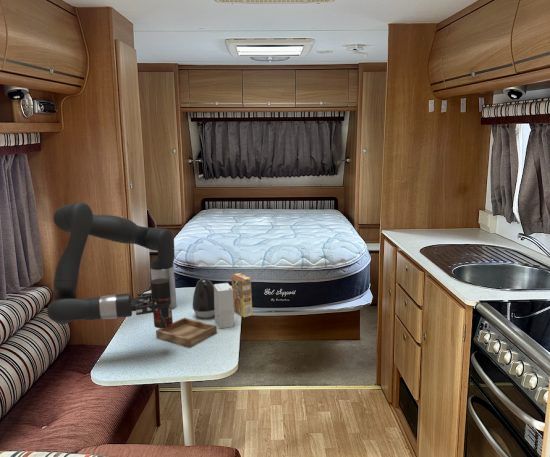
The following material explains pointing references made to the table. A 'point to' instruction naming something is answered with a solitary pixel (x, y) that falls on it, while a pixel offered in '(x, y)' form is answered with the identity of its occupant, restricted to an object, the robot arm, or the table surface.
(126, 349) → the table surface
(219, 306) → the skincare box
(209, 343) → the table surface
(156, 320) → the deodorant
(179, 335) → the tray
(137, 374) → the table surface
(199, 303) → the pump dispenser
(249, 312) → the candy box
